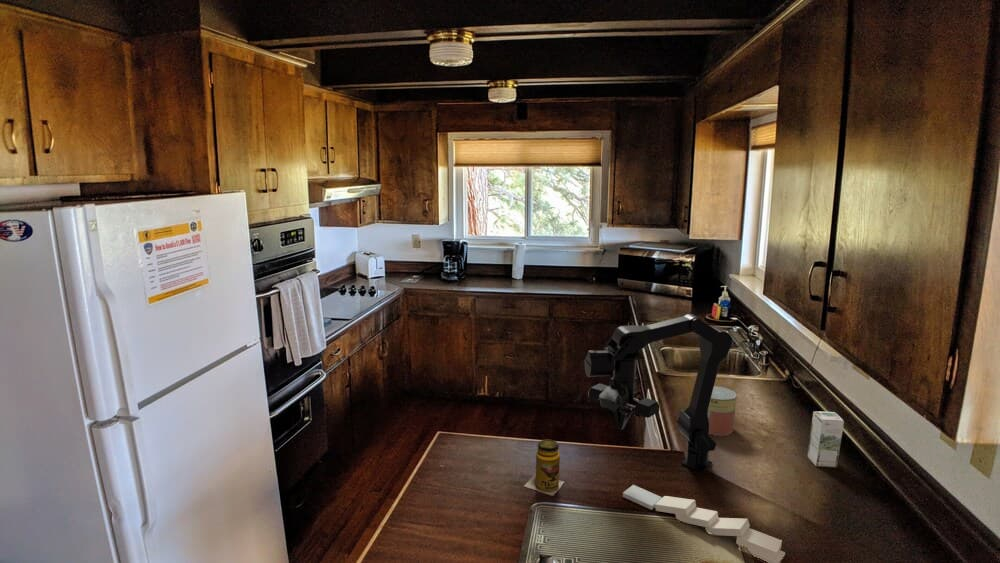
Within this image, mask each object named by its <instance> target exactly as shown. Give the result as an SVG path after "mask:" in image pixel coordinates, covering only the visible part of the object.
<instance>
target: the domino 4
mask: <svg viewBox="0 0 1000 563" xmlns="http://www.w3.org/2000/svg"><path fill="white" fill-rule="evenodd" d="M750 526H751V525H750V522H749V518H737V517H735V518H733V517H730V518H729V517H719V518H718V519H717V520H716V522H715V523H714V524H713V525H712V526H711V527H710V528H707V527H704V528H705V532H706V531H708V532H710V533H712V534H715V535H714V536H727V537H737V536H743V535H744V533H745V532H746V531H747V529H748V528H750Z"/></svg>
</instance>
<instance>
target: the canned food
mask: <svg viewBox="0 0 1000 563" xmlns="http://www.w3.org/2000/svg"><path fill="white" fill-rule="evenodd" d="M737 396H738V394H737V393H736V391H734V390H732V389H730V388H728V387H724V386H718V385H714V388H713V392H712V396H711V400H710V403H709V407H708V411H707V414H708V420H709V435H711V434H713V436H717V435H719V436H721V437H725V435H726V436H730V435H731V433H732V432H734V426H735V424H734V423H735V416H736V415H735V414H736V413H735V412H736V403H737ZM729 434H730V435H729ZM732 434H733V433H732ZM722 435H724V436H722ZM719 436H718V437H719Z"/></svg>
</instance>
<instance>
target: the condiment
mask: <svg viewBox="0 0 1000 563" xmlns="http://www.w3.org/2000/svg"><path fill="white" fill-rule="evenodd" d="M559 447H560V446H559V444H558V442H557V441H556V440H554V439H550V438H548V439H546V438H545V439H542V440H540V441H539V442H538V444H537V451H536V455H535V456H536V459H535V473H534V474H533V475H532V477H531V478H530V479H529V480H528V481H527V482H526V483H525V484H524V485H523V487H525V488H527V489H530V490H535V491H537V492H539V493H543V494H546V495H549V496H551V497H552V496H553V497H554V496H555V494H556V493H557V492H558V491H559V490H560V489H561V487H562V486H563V484H564V483H565V481H564V480H560V459H561V458H560V457H561V456H560V452H559Z"/></svg>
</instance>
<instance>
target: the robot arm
mask: <svg viewBox="0 0 1000 563" xmlns="http://www.w3.org/2000/svg"><path fill="white" fill-rule="evenodd" d="M689 333H694V334H696V335H697V336H699V345H698V346H699V350H700V362H699V366H698V371H697V374H696V377H695V382H694V386H693V390H692V394H691V398H690V401H689V405H688V407H687V408H686V409H683V410H682V409H680V410H679V412H678V417H677V420H676V424H677V428H678V430H679V432H680V433H681V434H682V436H683V438H685V439H686V440H687V444H686V445H687V448H686V458H684V459H683V460H682V461H681V463H680V464H681V465H683V466H686V467H689V468H690V469H694V470H696V471H699V472H701V473H704V472H705V471H706V470H707V469H709V468H710V467H711V466H712V465H713V462H712V461H711V460H709V456H710V455H709V453H710V452H712V451H715V449H716V447H717V442H715V440H714V439H713V438H712V437H711V436H710V434H709V420H708V414H707V411H708V407H709V403H710V400H711V396H712V392H713V388H714V386H715V384H716V380H717V379H716V378H717V375H718V371H719V368H720V364H721V363H722V361H723V360H724V359H725V358H727V356H729V355H728V354H729V352H730V350H731V348H732V345H733V337H732V335H731V334H730V333H728V331H725V330H723V329H721V328H719V327H718V326H715V325H709V324H708V323H706V322H705V321H704V320H702V319H701V318H700V317H699V316H696V315H694V314H691V313H687V314H685V315H684V316H680V317H675V318H670V319H667V320H663V321H659V322H656V323H651V324H647V325H633V324H630V325H620V326H618V327H616V328H615V329H614V332H613V334H612V336H611V338H610V339H609V341H607V343H606V344H605V345H604V346H603V350H594V349H593V350H587V355H586V356H585V359H584V361H583V362H584V365H583V366H584V372H585V375H586V376H587V377H588V378H594V377H595V378H596V377H609V376H611V375H613V376H612V377H611V378H610V379H609V384H608V385H606V384H603V383H598V384H595V385H594V386H591V387H590V388H588V392H587V396H588V399H591V400H594V401H598V400H599V404H600V406H601V408H604V409H608V410H610V411H611V412H613V415H614V419H615V421H616V425H617V427H618V430H620V431H623V430H624V429H625V427H626V425H627V423H628V422H629V419H630V417H631V415H632V414H633V413H634V412H635V413H636V414H637V415H638V416H641V417H644V418H648V419H649V418H651V417H652V416H654V415H656V414H657V413H659V412H660V403H659V402H658V401H657V400H653V399H651V398H647V397H644V398H643V399H641V400H639V398H635V397H637V394H638V392H637V391H635V388H636V387H635V386H636V383H637V382H638V381H639V380H638V379H639V378H638V377H636V368H637V360H638V361H639V360H641V361H642V360H645V356H643V355H642V353H641V352H640V351H641V350H643V349H644V348H645V347H647V346H648V345H649V344H651V343H655V342H659V341H661V340H662V341H663V340H666V339H670V338H675V337H677V336H682V335H687V334H689ZM616 348H618V349H616Z"/></svg>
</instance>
